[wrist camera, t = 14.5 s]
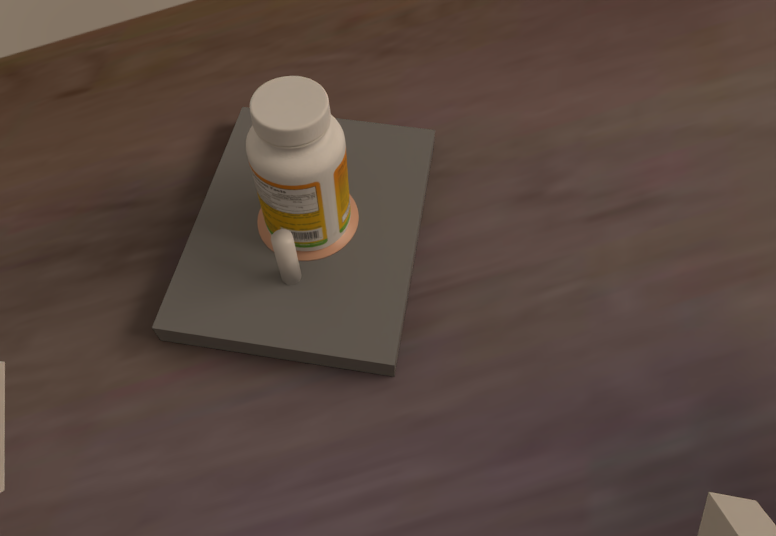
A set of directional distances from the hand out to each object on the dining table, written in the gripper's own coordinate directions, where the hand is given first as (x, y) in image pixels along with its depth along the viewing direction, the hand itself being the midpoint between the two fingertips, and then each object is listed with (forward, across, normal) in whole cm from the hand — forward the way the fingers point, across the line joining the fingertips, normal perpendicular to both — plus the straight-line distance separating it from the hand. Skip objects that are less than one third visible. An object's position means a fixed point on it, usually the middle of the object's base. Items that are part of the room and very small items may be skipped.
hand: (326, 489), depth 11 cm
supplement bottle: (+28, -8, +1) cm, 29 cm away
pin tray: (+29, -8, 0) cm, 30 cm away
